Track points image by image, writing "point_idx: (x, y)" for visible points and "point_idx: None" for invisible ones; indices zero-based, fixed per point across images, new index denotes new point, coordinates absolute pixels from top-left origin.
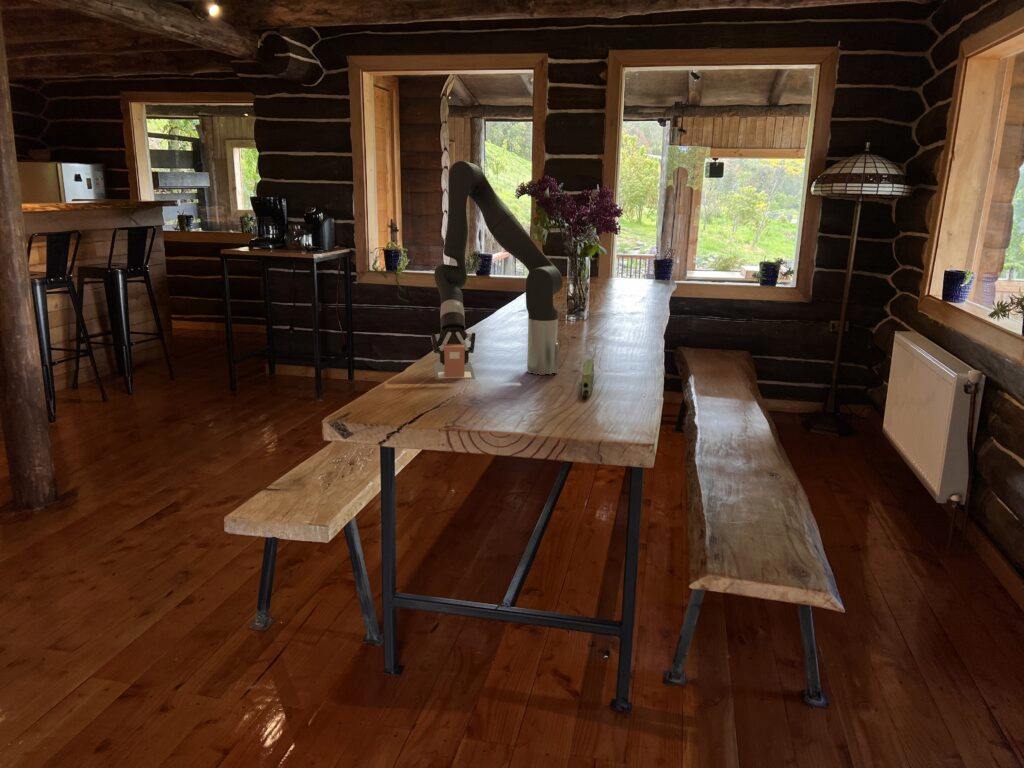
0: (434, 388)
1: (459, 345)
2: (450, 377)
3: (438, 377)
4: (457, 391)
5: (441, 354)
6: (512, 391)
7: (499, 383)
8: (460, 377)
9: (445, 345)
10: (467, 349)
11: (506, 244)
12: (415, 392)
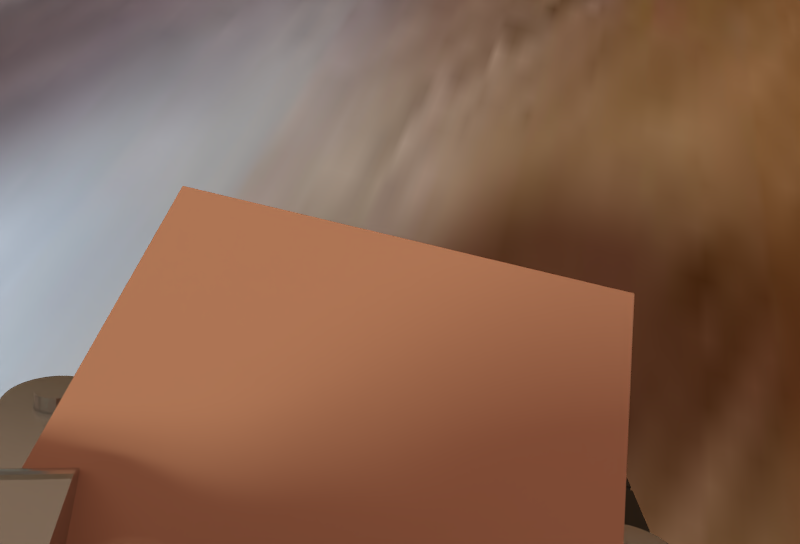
0: (617, 228)
1: (207, 376)
2: None
3: None
4: (461, 116)
5: None
6: (110, 17)
7: (53, 196)
8: None
9: (586, 491)
10: (46, 389)
11: None
12: (763, 180)
